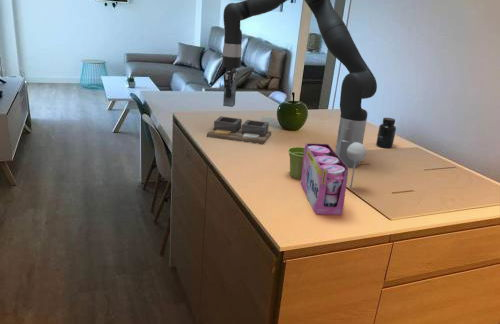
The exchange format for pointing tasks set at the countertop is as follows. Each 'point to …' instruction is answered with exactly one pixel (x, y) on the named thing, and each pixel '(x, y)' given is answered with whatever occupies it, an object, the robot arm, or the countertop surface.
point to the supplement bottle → (386, 133)
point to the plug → (231, 101)
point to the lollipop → (356, 155)
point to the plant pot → (296, 161)
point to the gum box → (324, 179)
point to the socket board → (240, 130)
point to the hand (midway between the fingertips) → (229, 96)
